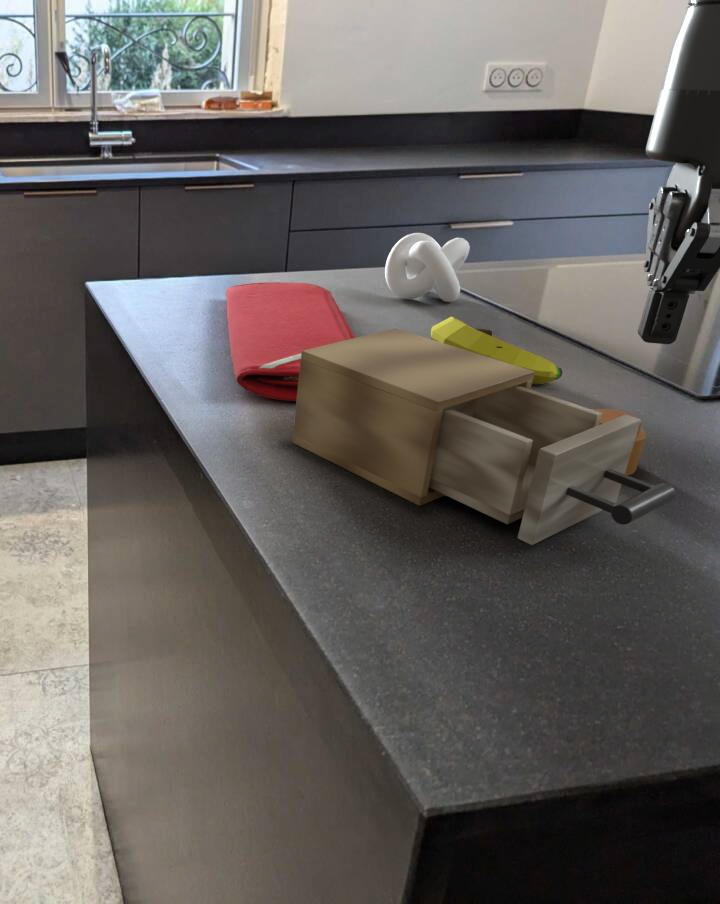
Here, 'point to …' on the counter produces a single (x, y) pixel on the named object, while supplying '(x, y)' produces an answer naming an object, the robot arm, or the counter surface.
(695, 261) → the robot arm
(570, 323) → the counter surface
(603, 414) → the orange lidded jar
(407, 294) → the white knot sculpture
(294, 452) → the counter surface
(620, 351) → the counter surface
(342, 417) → the cabinet
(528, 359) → the banana
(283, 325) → the dish drying mat
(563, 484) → the drawer
